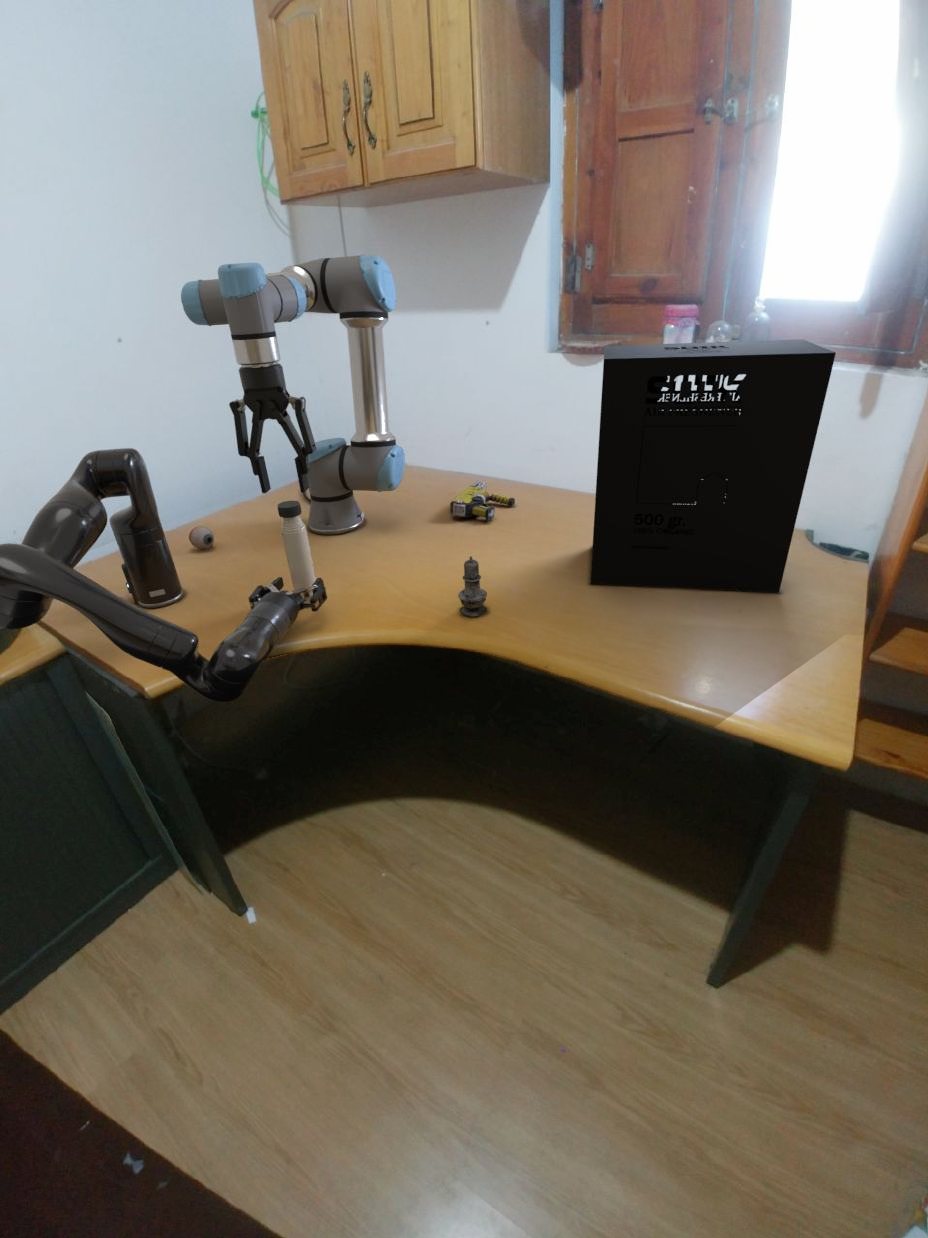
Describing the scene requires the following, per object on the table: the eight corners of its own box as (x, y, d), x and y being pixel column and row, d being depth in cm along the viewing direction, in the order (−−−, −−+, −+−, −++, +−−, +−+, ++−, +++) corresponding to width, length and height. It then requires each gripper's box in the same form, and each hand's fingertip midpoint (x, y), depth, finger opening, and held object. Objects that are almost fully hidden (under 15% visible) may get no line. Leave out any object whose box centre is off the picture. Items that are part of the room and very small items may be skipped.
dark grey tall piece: (485, 617, 120) (483, 562, 114) (456, 616, 121) (452, 561, 115) (490, 603, 125) (488, 550, 119) (462, 602, 126) (459, 549, 120)
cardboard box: (758, 552, 140) (802, 339, 117) (778, 592, 123) (835, 352, 100) (592, 546, 147) (604, 345, 125) (590, 583, 130) (603, 358, 108)
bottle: (314, 594, 133) (296, 500, 122) (323, 602, 130) (305, 506, 119) (293, 600, 131) (272, 505, 120) (301, 609, 127) (281, 512, 116)
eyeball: (203, 554, 156) (196, 532, 153) (187, 550, 159) (181, 528, 156) (222, 546, 160) (216, 524, 157) (206, 542, 163) (200, 521, 160)
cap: (297, 508, 123) (295, 498, 122) (305, 514, 120) (303, 504, 119) (276, 513, 121) (273, 503, 120) (283, 519, 118) (281, 509, 117)
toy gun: (523, 485, 181) (476, 478, 185) (501, 509, 161) (448, 500, 165) (521, 500, 184) (475, 493, 187) (499, 525, 163) (447, 517, 167)
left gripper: (238, 636, 114) (272, 596, 128) (310, 638, 113) (336, 597, 127) (229, 601, 111) (265, 564, 125) (303, 603, 109) (331, 565, 123)
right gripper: (320, 358, 109) (340, 483, 120) (215, 363, 111) (244, 485, 122) (308, 364, 102) (330, 495, 114) (196, 369, 104) (228, 497, 116)
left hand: (301, 581), depth 126 cm, fingers open, 8 cm apart
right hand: (285, 490), depth 118 cm, fingers open, 7 cm apart
